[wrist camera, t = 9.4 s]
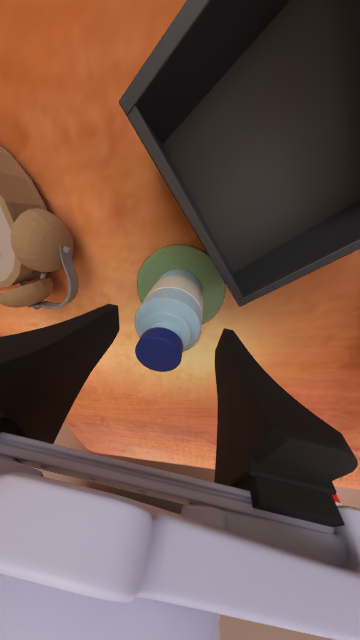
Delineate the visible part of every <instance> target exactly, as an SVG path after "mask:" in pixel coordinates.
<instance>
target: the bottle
mask: <svg viewBox="0 0 360 640" xmlns="http://www.w3.org/2000/svg"><path fill="white" fill-rule="evenodd" d="M202 317H203V288H202V285H201V282H200V281H199V279H198V278H197V277H196V276H195V275H194V274H192V273H191V272H189V271H186V270H182V269H174V270H170V271H168V272H166V273H165V274H163V275H162V276H161V277H160V279H159V280H158V282H157V283H156V284H155V285H154V286H153V288H152V289H151V290H150V292H149V293H148V295H147V296H146V298H145V299H144V301H143V303H142V305H141V306H140V307H139V309H138V310H137V312H136V315H135V328H136V331H137V333H138V335H139V337H140V340H139V342H138V344H137V345H136V349H135V352H136V356H137V358H138V360H139V361H140V362H141V363H142V364H143V365H144V366H145V367H147V368H149V369H151V370H155V371H160V372H165V371H170V370H173V369H175V368H176V367H177V366H178V365H179V364H180V362H181V358H182V352H183V351H186V350H188V349H190V348H191V347H193V346H194V345H195V344H196V342H197V341H198V339H199V337H200V335H201V324H202Z"/></svg>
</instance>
